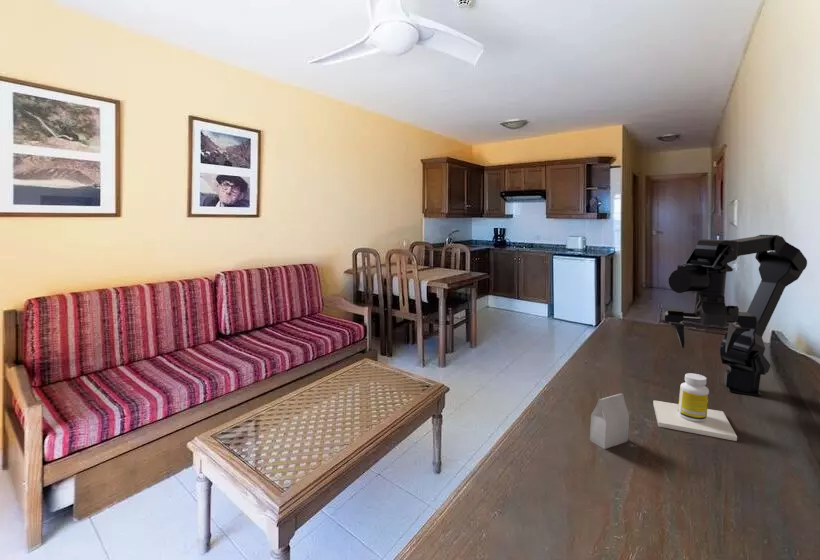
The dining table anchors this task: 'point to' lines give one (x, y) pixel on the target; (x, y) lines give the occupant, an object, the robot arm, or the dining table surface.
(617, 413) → the milk carton
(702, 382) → the supplement bottle
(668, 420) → the ceramic tile
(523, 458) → the dining table surface
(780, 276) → the robot arm
